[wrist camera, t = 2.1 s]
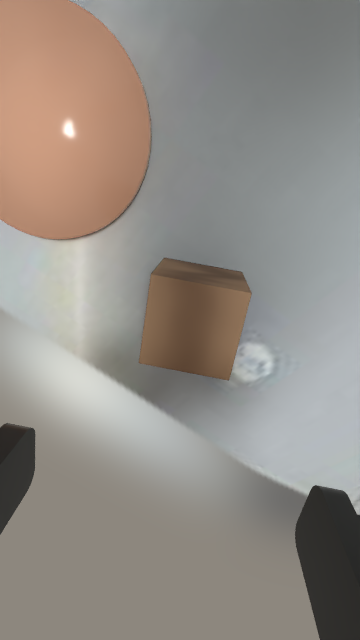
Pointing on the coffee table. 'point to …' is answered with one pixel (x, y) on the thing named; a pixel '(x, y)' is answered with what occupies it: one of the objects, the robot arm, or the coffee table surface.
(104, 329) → the coffee table surface
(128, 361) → the coffee table surface
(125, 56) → the terracotta coaster
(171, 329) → the walnut cube
